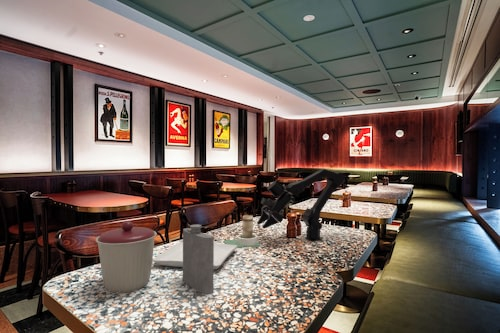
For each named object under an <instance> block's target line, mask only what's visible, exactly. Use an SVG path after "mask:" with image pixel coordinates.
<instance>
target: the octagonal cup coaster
mask: <svg viewBox="0 0 500 333" xmlns="http://www.w3.org/2000/svg"><path fill="white" fill-rule="evenodd" d="M223 244H228V245H237V248H236V249H240V248H242V249H243V248H253V247H256V248H257V247H261V244H260V243H259V236H258V235H257V234H255V233H253V238H250V239H245V238H243V233H241V234H238V235H237V236H236V239H227V240H223Z"/></svg>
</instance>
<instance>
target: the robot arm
mask: <svg viewBox="0 0 500 333" xmlns="http://www.w3.org/2000/svg"><path fill="white" fill-rule="evenodd" d="M323 178H324V179H327V180H326V185H325V187H324V188H323V189H322V192H321V193H320V194H319V196H318V197H317V199H316V201H315V203H314V204H313V205H312V206H311V208H309V207H307V208H306V209H305V211H304V212H303V213H302V221H303V222H304V224H305V226H306V231H305V232H306V234H305V235H306V236H305V239H306V240H309V241H311V242H314V241H315V242H317V241H321V240H323V238H321V229H322V228H323V224H322V223H321V222H320V221H319V220H320V217H321V211H322V210H323V208H324V207H325V206H326V204H327V202H328V201H329V199H330V198H331V196H332V194H333V193H334V191H335V190H336V189H337V188H339V187H341V185H342V184H343V183H344V182H345V175H344V173H341V172H334V171H330V170H327V169H325V168H321V169H319V170H317V171H315V172H314V173H312V174H310V175H308V176H306V177H304V178H303V179H301V180H297V181H293V182H291V183H289V184H288V185H285V186H283V185H282V184H281V183H280V181H279V180H278V179H275V181H273V182H272V183H270V184H269V185H268V186H267V187H266V189H267V191H269V192H270V193H271V194H272V196H274V197H277V198H276V200H275V199H274V200H273V199H272V198H264V197H262V199H261V201H260V205H261V204H262V207H261V210H260V211H261V215H260V217H259V219H258V221H257V222H256V223H257V225H261V224H262V223H264V224H263V226H262V229H267V228H269V227H272V226H273V225H276V224H279V223H282V221H283V219H284V217H283V215H281V214H280V213H281V212H283V211H285V210H286V207H287V206H288V204H290V202H291V203H296V200H295V199H296V198H295V196H298V195H300V194H301V193H302V192H304V190H305V189H306V188H307V187H309V186H310V185H312V184H314V183H316V182H318V181H320V180H322V179H323ZM286 192H287V193H286Z"/></svg>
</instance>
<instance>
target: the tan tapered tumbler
mask: <svg viewBox="0 0 500 333" xmlns="http://www.w3.org/2000/svg"><path fill="white" fill-rule="evenodd" d="M241 219H242V234H243V238H245V239H250V238H253V234H254V233H253V232H254V229H253V226H254V225H253V224H254V223H253V222H254V216H253V215H250V214H248V215H247V214H245V215H243V216H242V218H241Z"/></svg>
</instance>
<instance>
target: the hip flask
mask: <svg viewBox="0 0 500 333" xmlns="http://www.w3.org/2000/svg"><path fill="white" fill-rule="evenodd" d="M214 240H215V236H214V235H212V234H207V233H204V232H202V224H191V225H190V226H189V227H188V228H187V227H186V228H183V230H182V242H183V267H182V280H183V282H184V283H185V284H186V285H188V286H189V287H190V288H192V289H194V290H196V291H197V292H199V293H202V294H204V295H211V294H213V293H214V279H215V278H214V275H215V274H214V243H215V242H214Z"/></svg>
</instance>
